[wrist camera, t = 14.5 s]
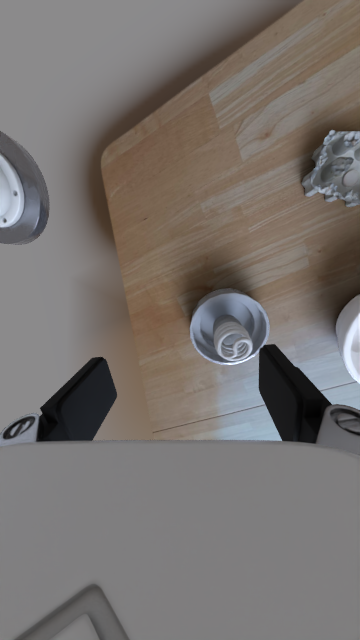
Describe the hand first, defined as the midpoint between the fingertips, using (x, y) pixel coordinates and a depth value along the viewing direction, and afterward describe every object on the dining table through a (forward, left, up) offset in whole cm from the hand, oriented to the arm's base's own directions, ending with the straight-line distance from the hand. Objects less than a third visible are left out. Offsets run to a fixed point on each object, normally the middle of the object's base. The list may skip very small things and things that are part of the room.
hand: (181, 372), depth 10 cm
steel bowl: (+8, -5, -27) cm, 28 cm away
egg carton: (+18, +22, -27) cm, 39 cm away
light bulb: (+8, -5, -26) cm, 28 cm away
